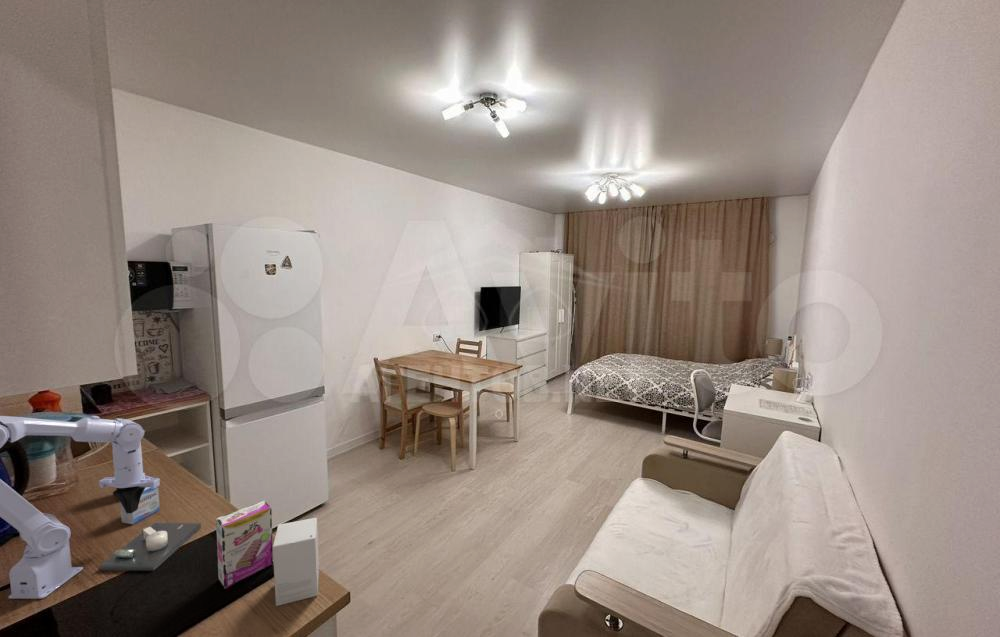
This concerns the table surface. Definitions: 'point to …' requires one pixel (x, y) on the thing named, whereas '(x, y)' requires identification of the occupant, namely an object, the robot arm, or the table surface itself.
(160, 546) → the white long bulbous piece
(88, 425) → the robot arm
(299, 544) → the supplement box
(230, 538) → the candy bar box
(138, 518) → the medicine box
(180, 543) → the base plate
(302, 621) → the table surface
